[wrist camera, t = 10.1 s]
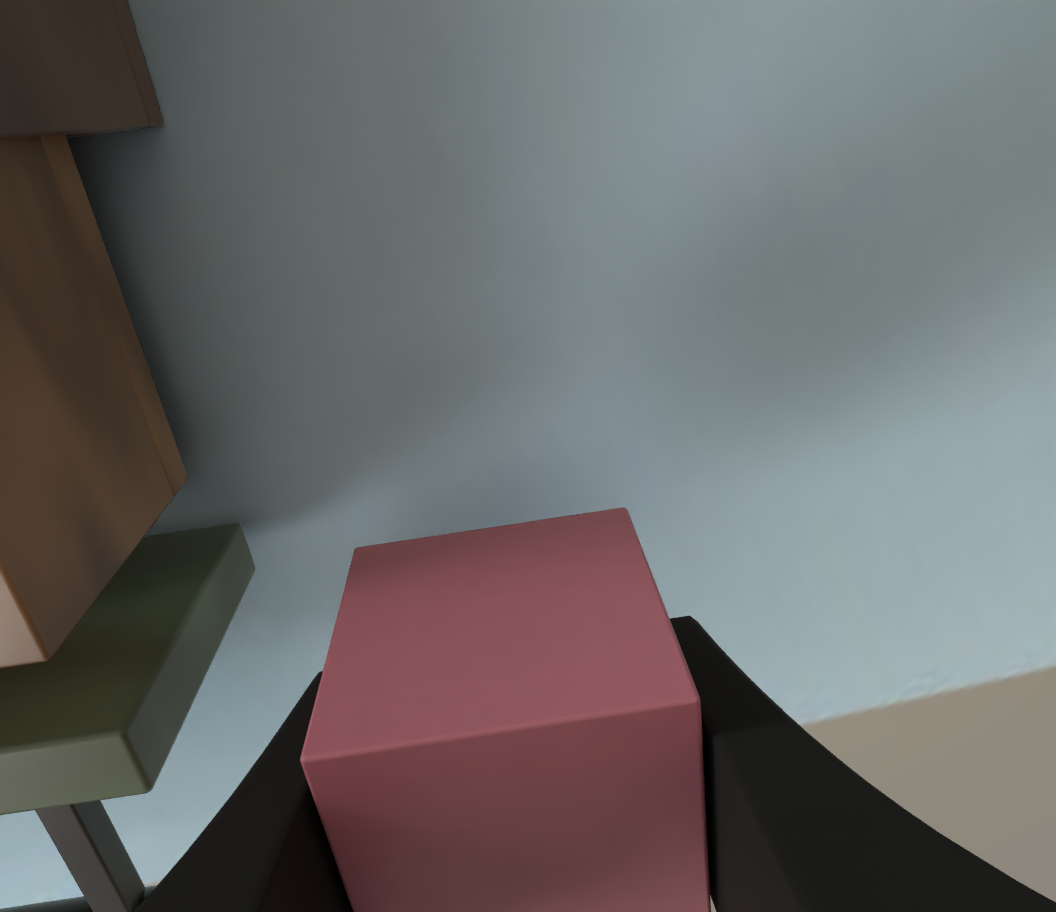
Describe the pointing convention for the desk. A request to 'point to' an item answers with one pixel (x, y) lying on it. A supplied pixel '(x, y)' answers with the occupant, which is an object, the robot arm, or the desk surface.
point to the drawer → (89, 538)
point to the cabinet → (72, 70)
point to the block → (510, 727)
